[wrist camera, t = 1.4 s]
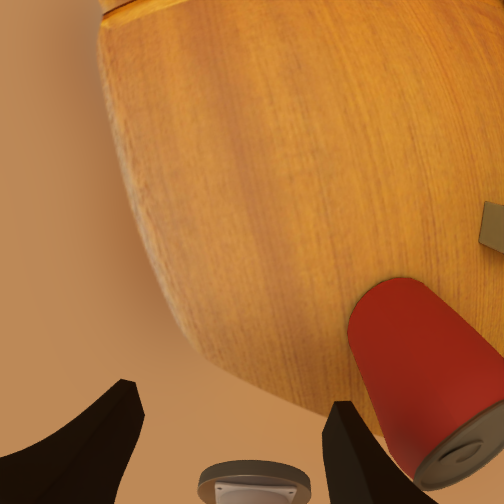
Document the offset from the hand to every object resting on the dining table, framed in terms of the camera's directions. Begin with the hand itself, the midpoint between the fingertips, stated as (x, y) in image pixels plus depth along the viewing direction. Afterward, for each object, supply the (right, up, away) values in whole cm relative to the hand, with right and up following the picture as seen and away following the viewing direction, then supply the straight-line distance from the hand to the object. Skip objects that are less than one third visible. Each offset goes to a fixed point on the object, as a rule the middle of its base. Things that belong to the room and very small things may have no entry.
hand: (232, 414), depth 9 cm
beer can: (+10, +1, +9) cm, 13 cm away
